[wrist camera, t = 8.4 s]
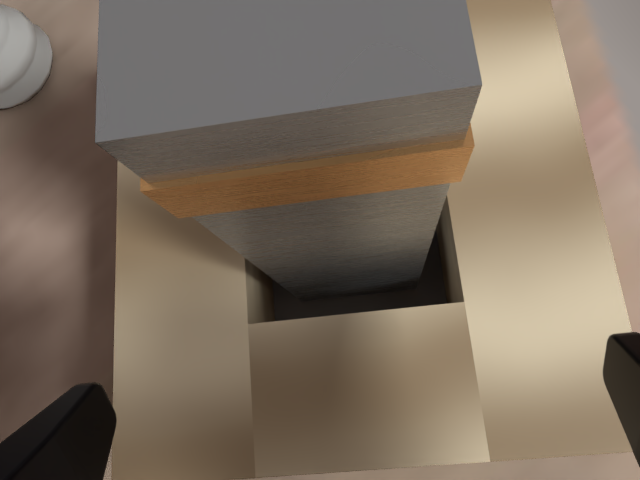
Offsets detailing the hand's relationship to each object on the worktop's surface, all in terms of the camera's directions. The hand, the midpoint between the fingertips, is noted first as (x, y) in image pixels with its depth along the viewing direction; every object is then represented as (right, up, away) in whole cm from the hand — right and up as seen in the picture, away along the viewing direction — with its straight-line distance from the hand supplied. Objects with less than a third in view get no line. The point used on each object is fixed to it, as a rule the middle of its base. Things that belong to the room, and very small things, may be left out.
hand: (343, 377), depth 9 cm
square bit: (+1, +2, +9) cm, 10 cm away
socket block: (+1, +2, +10) cm, 10 cm away
